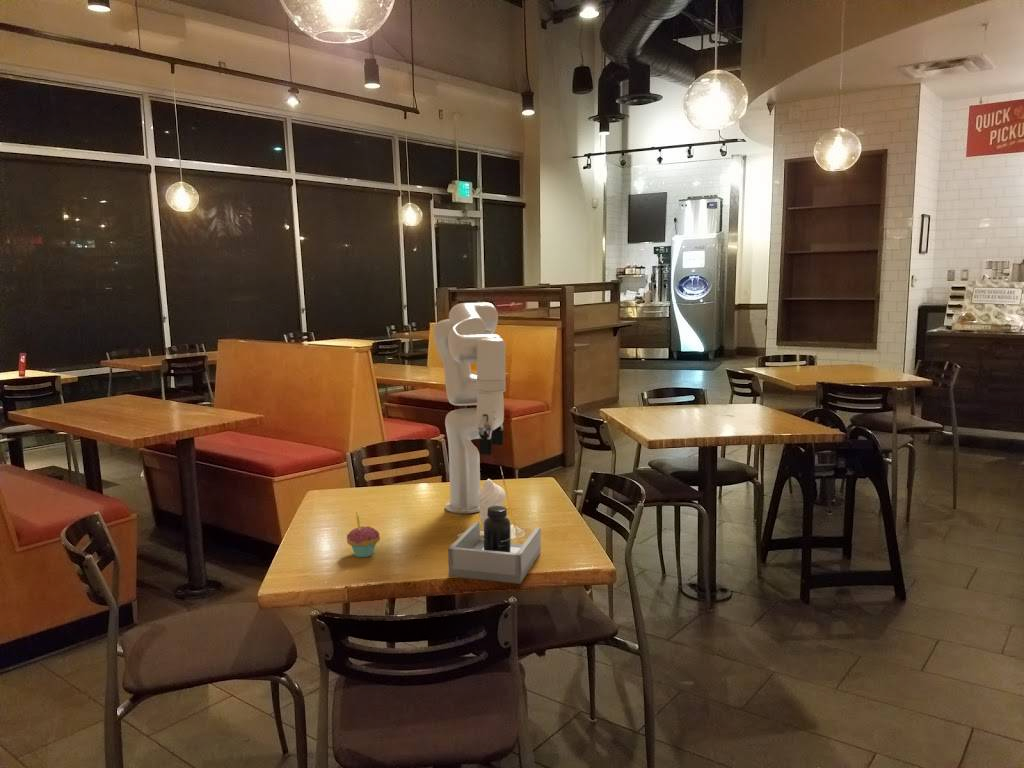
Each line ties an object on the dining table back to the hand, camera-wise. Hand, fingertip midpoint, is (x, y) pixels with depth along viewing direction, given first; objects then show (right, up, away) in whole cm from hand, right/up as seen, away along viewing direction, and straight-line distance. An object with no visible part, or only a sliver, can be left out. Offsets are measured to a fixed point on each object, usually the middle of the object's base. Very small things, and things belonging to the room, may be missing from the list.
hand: (491, 449), depth 191 cm
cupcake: (-34, -28, -1) cm, 44 cm away
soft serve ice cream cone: (0, -25, +14) cm, 29 cm away
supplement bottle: (+2, -26, -7) cm, 27 cm away
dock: (+1, -28, -9) cm, 30 cm away
